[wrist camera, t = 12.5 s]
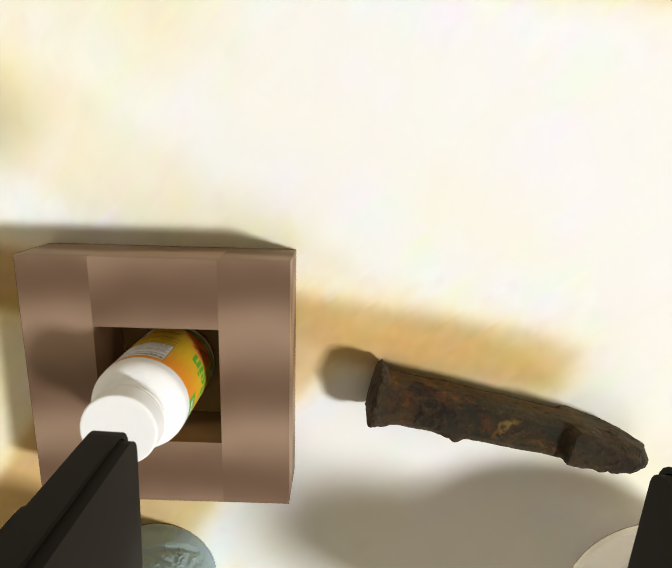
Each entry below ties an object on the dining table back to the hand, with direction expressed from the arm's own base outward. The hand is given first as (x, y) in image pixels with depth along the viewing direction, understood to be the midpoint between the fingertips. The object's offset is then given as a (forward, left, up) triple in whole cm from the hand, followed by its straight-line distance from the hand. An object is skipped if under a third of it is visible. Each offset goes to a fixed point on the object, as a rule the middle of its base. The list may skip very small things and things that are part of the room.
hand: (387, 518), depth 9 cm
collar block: (+8, -12, -25) cm, 29 cm away
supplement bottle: (+8, -12, -26) cm, 29 cm away
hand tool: (+10, +11, -26) cm, 30 cm away
